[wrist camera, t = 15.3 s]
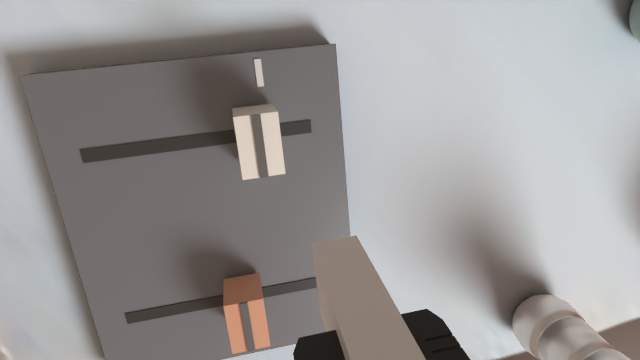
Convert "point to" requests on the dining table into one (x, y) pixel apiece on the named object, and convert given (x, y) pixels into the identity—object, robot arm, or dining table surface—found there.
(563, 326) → the plastic bottle
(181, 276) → the fader panel
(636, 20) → the cup
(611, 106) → the dining table surface
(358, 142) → the dining table surface
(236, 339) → the terracotta fader
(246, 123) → the white fader
